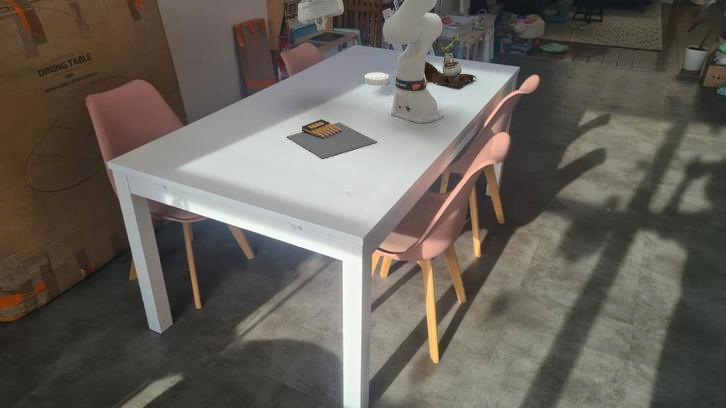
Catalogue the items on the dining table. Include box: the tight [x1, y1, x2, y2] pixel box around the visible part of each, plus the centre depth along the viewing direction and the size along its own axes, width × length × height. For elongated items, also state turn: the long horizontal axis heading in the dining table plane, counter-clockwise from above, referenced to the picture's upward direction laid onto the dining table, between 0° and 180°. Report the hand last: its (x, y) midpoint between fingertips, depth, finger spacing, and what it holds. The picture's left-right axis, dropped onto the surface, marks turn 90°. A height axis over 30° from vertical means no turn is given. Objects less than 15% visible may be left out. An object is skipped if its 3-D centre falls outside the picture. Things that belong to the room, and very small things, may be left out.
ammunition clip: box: [301, 118, 342, 138], centre depth 200 cm, size 11×2×12 cm
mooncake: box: [363, 71, 390, 86], centre depth 257 cm, size 12×12×4 cm
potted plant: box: [424, 34, 478, 89], centre depth 254 cm, size 20×19×25 cm
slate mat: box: [286, 121, 378, 160], centre depth 194 cm, size 24×24×1 cm
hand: (321, 29), depth 214 cm, fingers closed
